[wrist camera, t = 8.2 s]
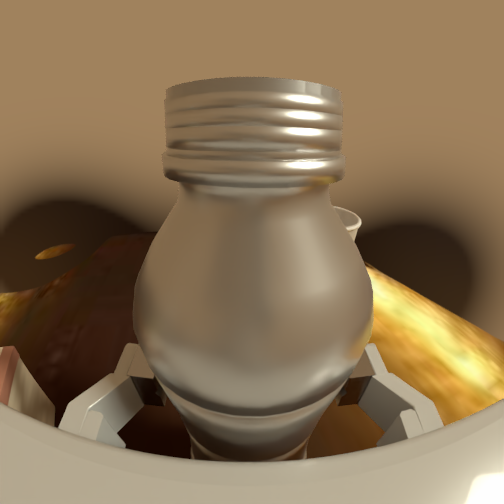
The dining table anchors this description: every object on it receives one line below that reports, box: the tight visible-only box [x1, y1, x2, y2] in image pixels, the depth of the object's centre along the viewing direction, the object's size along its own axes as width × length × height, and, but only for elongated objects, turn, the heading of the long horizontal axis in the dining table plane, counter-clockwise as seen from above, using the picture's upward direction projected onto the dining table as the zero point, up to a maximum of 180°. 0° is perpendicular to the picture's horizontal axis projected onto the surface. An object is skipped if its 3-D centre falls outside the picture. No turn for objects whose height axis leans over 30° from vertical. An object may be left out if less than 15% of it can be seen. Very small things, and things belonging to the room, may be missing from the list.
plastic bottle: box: [133, 77, 373, 462], centre depth 10 cm, size 6×7×20 cm
